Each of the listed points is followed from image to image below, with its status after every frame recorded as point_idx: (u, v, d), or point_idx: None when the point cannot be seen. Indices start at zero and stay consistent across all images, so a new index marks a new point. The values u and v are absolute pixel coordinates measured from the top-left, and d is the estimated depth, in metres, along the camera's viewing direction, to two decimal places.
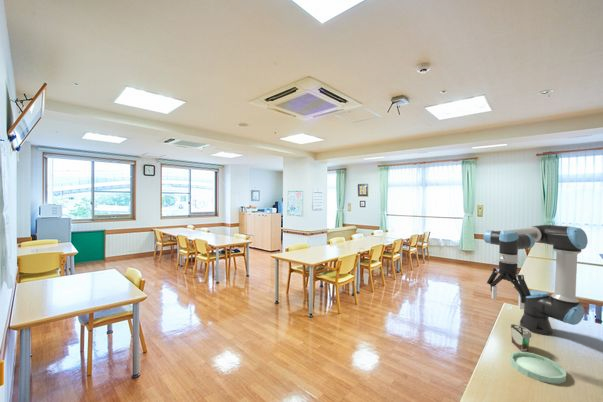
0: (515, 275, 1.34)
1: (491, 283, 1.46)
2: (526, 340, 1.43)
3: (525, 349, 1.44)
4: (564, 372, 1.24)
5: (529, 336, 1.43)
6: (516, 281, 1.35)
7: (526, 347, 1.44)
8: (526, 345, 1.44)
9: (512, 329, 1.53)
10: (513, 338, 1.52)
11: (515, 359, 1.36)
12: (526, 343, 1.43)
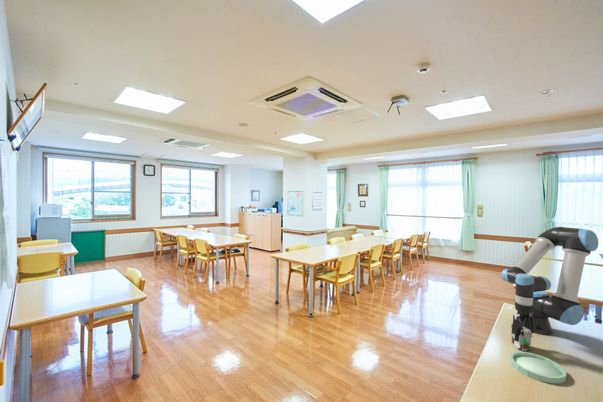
0: (517, 315, 1.47)
1: None
2: (527, 340, 1.43)
3: (526, 349, 1.44)
4: (564, 372, 1.24)
5: (530, 336, 1.43)
6: (520, 322, 1.46)
7: (527, 347, 1.44)
8: (527, 345, 1.44)
9: None
10: (513, 338, 1.52)
11: (515, 359, 1.36)
12: (527, 343, 1.43)
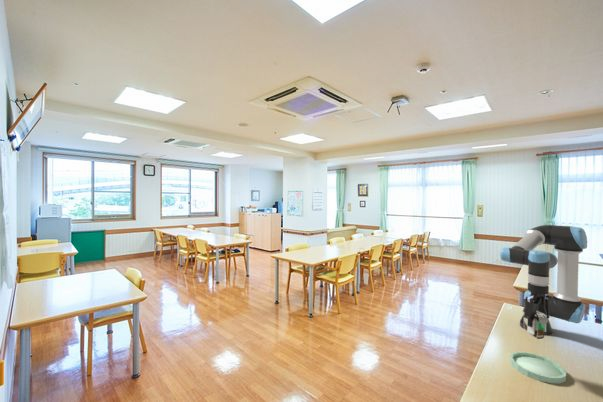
0: None
1: (541, 312, 1.33)
2: (542, 325, 1.25)
3: (541, 335, 1.26)
4: (564, 372, 1.24)
5: (546, 320, 1.25)
6: (534, 304, 1.28)
7: (542, 333, 1.26)
8: (542, 331, 1.26)
9: None
10: (526, 324, 1.34)
11: (515, 359, 1.36)
12: (542, 329, 1.25)
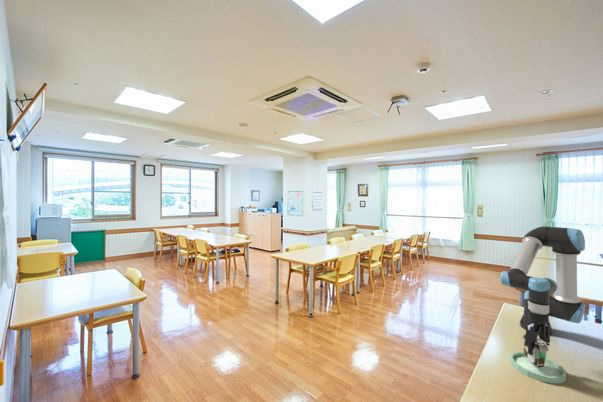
0: (530, 324, 1.28)
1: (541, 339, 1.33)
2: (543, 354, 1.25)
3: (541, 364, 1.26)
4: (564, 372, 1.24)
5: (546, 349, 1.25)
6: (534, 332, 1.28)
7: (542, 362, 1.26)
8: (543, 359, 1.25)
9: None
10: (526, 350, 1.33)
11: (515, 359, 1.36)
12: (543, 357, 1.25)
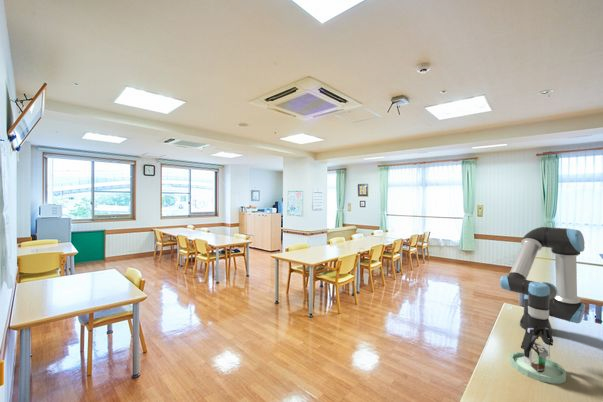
0: None
1: None
2: (543, 359, 1.25)
3: (541, 369, 1.26)
4: (564, 372, 1.24)
5: (546, 354, 1.25)
6: (533, 336, 1.28)
7: (543, 367, 1.26)
8: (543, 364, 1.26)
9: None
10: None
11: (515, 359, 1.36)
12: (543, 362, 1.25)
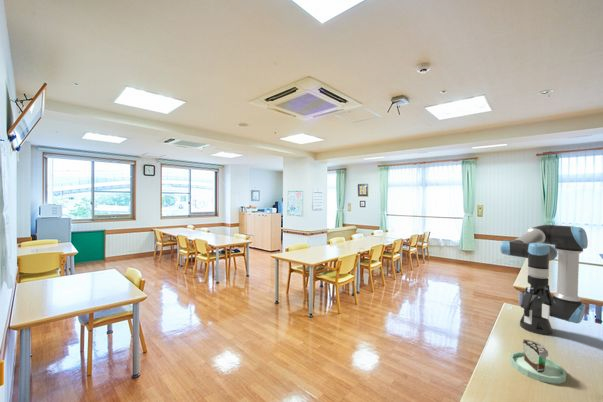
0: None
1: None
2: (543, 359, 1.25)
3: (541, 369, 1.26)
4: (564, 372, 1.24)
5: (546, 354, 1.25)
6: (533, 295, 1.28)
7: (543, 367, 1.26)
8: (543, 364, 1.26)
9: (525, 345, 1.35)
10: (526, 355, 1.33)
11: (515, 359, 1.36)
12: (543, 362, 1.25)
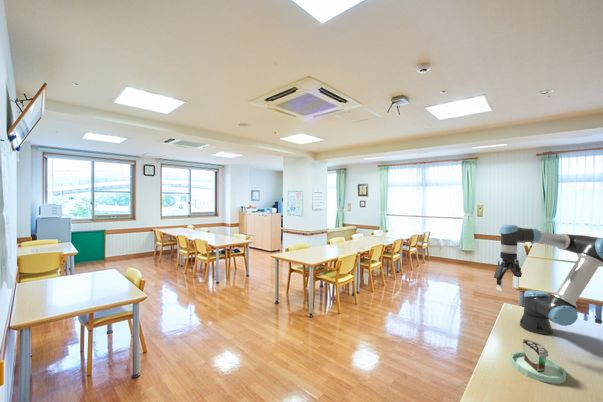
0: (502, 262, 1.55)
1: None
2: (543, 359, 1.25)
3: (541, 369, 1.26)
4: (564, 372, 1.24)
5: (546, 354, 1.25)
6: (504, 268, 1.54)
7: (543, 367, 1.26)
8: (543, 364, 1.26)
9: (525, 345, 1.35)
10: (526, 355, 1.33)
11: (515, 359, 1.36)
12: (543, 362, 1.25)
